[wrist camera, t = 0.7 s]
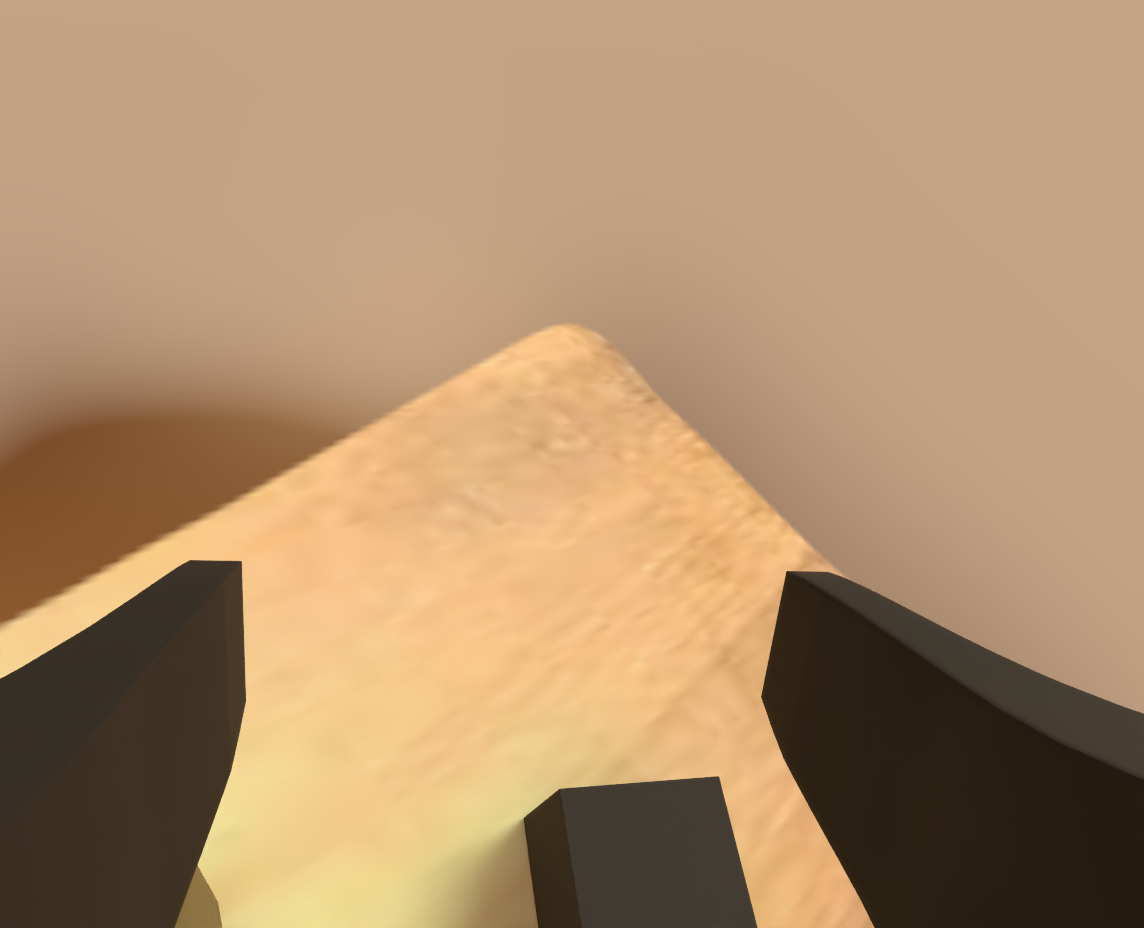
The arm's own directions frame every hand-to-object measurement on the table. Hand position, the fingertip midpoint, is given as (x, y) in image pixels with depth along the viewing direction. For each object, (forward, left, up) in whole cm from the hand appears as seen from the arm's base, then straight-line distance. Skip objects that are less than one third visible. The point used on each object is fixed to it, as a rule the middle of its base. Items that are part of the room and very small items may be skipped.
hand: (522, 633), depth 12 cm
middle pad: (-1, -9, -18) cm, 20 cm away
